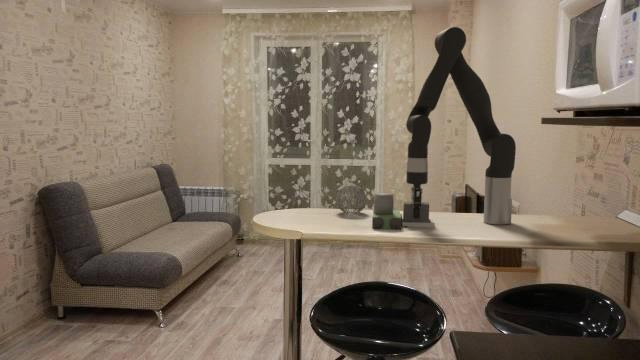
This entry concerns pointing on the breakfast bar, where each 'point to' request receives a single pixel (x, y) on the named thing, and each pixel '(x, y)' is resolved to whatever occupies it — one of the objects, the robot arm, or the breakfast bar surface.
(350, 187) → the pendant light
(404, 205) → the grey rectangular block
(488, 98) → the robot arm
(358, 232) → the breakfast bar surface
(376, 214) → the toy tractor
